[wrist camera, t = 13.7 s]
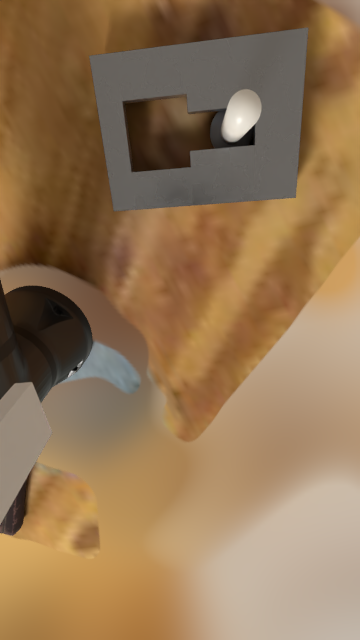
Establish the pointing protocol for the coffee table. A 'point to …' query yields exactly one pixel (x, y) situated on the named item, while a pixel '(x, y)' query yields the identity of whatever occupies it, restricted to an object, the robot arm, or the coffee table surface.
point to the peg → (236, 121)
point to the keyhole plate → (207, 96)
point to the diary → (14, 514)
